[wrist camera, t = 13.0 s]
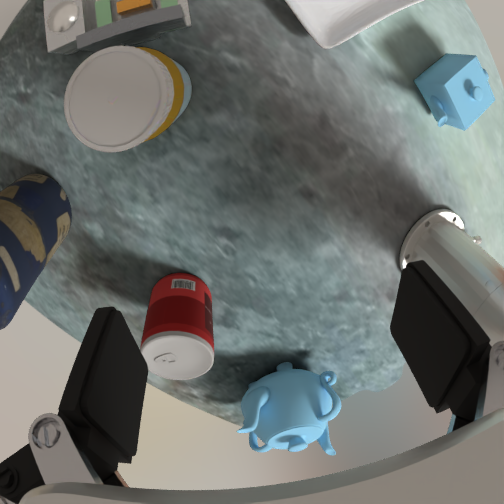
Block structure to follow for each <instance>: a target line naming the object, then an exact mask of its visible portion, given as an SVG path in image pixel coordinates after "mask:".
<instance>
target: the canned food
mask: <svg viewBox="0 0 504 504" xmlns="http://www.w3.org/2000/svg"><path fill="white" fill-rule="evenodd" d="M140 351H141V353H142V355H143V357H144V359H145V361H146V362H147V365H148V370H149V371H150V372H152V373H154V374H156V375H158V376H160V377H163V378H167V379H173V380H187V379H192V378H196V377H199V376H201V375H203V374H205V373H206V372H207V371H208V370H210V368H211V367H212V365H213V362H214V339H213V320H212V298H211V293H210V291H209V289H208V287H207V285H206V284H205V283H204V282H203V281H202V280H201V279H200V278H198V277H196V276H194V275H191V274H187V273H174V274H170V275H167V276H165V277H163V278H162V279H160V280H159V281H158V282H157V284H156V285H155V286H154V288H153V290H152V292H151V296H150V301H149V305H148V310H147V315H146V320H145V325H144V330H143V336H142V341H141V348H140Z"/></svg>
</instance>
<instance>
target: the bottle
mask: <svg viewBox="0 0 504 504" xmlns="http://www.w3.org/2000/svg"><path fill="white" fill-rule="evenodd" d="M191 93H192V84H191V81H190V77H189V75H188V73H187V72H186V70H185V69H184V68H183V67H182V66H181V65H180V64H178V63H177V62H176V61H174V60H173V59H171V58H169V57H168V56H166V55H165V54H163V53H162V52H160V51H157V50H154V49H150V48H145V47H130V46H123V45H121V46H114V47H108V48H106V49H105V48H104V49H102V50H100V51H97V52H96V53H94V54H92V55H91V56H89V57H88V58H87V59H85V60H84V61H83V62H82V63H81V64H80V65H79V66H78V68H77V69H76V70H75V72H74V73H73V75H72V76H71V78H70V80H69V83H68V85H67V88H66V92H65V98H64V111H65V116H66V120H67V123H68V125H69V127H70V129H71V131H72V132H73V134H74V135H75V136H76V137H77V139H78V140H80V141H81V142H82V143H83V144H85V145H86V146H88V147H90V148H92V149H95V150H98V151H103V152H118V151H119V152H121V151H123V150H128V149H129V148H130V149H131V148H133V147H134V146H138V145H139V144H140V143H142V142H145V141H147V140H150V139H153V138H155V137H156V136H158V135H159V134H161V133H162V132H163V131H165V130H166V129H167V128H168V127H169V126H170V125H171V124H172V123H173V122H174V121H175V120H176V119H177V118H178V117H179V116H180V115H181V114H182V113H183V111H184V110H185V109H186V107H187V106H188V103H189V101H190V98H191Z"/></svg>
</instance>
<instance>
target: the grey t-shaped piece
mask: <svg viewBox="0 0 504 504" xmlns="http://www.w3.org/2000/svg"><path fill="white" fill-rule="evenodd" d="M116 5H117V13H118V14H119V15H121V19H122V20H119V21H115V22H113V23H110V24H107V25H104V26H101V27H98V28H96V29H93V30H90V31H88V32H85V33H83V34H80V35H78V36H76V41H77V49H79V50H84V51H89V52H94V53H95V52H97V51H100V50H102V49H104V48H105V49H106V48H108V47H112V46H115V45H118V44H121V43H124V44H126V45H128V46H132V45H136V44H139V43H143V42H147V41H150V40H154V39H158V38H160V32H164V31H168V30H173V29H178V28H182V27H186V20H185V14H184V12H183V9H182V7H181V4H179V5H174V6H170V7H165V8H161V9H157V10H156V5H155V0H119V2H116Z"/></svg>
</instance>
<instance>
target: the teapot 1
mask: <svg viewBox="0 0 504 504" xmlns="http://www.w3.org/2000/svg"><path fill="white" fill-rule="evenodd" d="M276 369H277V372H274V373H271V374H268V375H266V376H264V377H262V378H261V379H259V380H258V381H255V382H252V383H250V384H249V385H248V387H249V389H248V390H247V392H246V393H245V394H244V396H243V398H242V401H241V408H242V413H243V416H244V418H245V420H244V422H243V424H244V426H243V427H242V428H241V429H239V430H238V431H237V432H238V433H248V432H250V434H249V444H250V447H251V448H252V449H253V450H255V451H257V452H266V451H269V450H270V449H271V448H275V449H288V451H291V452H296V451H301V450H303V449H305V448H306V447H307V446H308V445H307V444H309V443H311V442H313V441H315V440H317V441H318V442H319V444H320V445H321V447H322V448H323V450H324V451H325V452H326V453H327V454H329V455H335V454H336V452H335V450H334V449H333V447H332V445H331V444H330V439H329V432H328V424H327V422H328V421H329V420H331V419H333V418H334V417H335V416H336V415H337V414H338V413H339V411H340V409H341V401H340V398H339V396H338V395H337V394H336V392H335V391H334V390H333V389H332V387H331V386H330V385H333V384H334V383H335V382H336V375H335V373H334V372H332V371H326V372H323V373H322V374H321V376H320V375H318V374H315V373H313V372H310V371H307V370H303V369H292V364H291V363H289V362H284V363H281V364H279V365H278V366H277V368H276ZM329 377H331V380H330V381H329V382H328V378H329ZM332 400H333V408H332V409H331V407H332ZM257 436H258V437H259V438H260V439H261V440H262V441H263V442H264V443H265V445H264V446H262V447H258V443H257Z"/></svg>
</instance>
